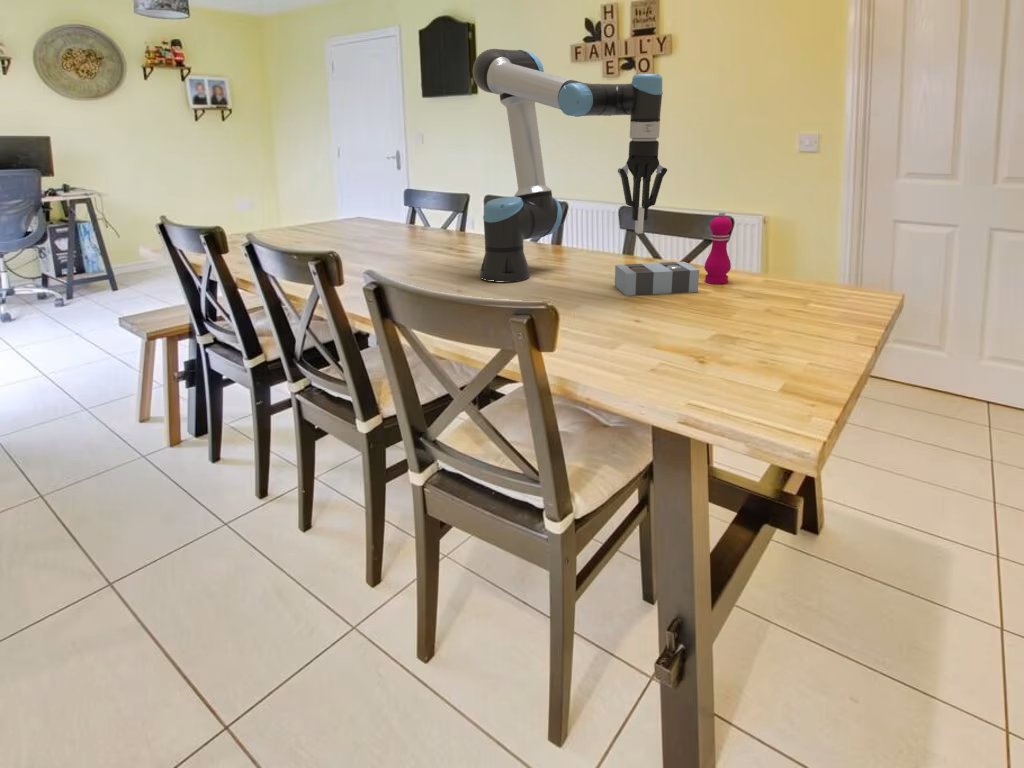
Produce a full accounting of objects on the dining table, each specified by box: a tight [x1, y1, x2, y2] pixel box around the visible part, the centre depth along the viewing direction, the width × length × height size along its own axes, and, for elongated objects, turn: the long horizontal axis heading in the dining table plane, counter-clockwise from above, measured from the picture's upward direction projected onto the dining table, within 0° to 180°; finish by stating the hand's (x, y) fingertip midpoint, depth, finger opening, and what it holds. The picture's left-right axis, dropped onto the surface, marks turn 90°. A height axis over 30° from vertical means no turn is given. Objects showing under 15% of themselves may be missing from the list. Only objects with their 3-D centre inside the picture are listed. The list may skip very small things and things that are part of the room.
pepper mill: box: [704, 210, 733, 285], centre depth 190 cm, size 7×7×20 cm
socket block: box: [614, 261, 700, 297], centre depth 186 cm, size 20×12×6 cm, turn 96°
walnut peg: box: [631, 267, 646, 270], centre depth 186 cm, size 4×4×6 cm
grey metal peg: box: [667, 265, 681, 269], centre depth 187 cm, size 4×4×6 cm
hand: (638, 232), depth 181 cm, fingers closed
